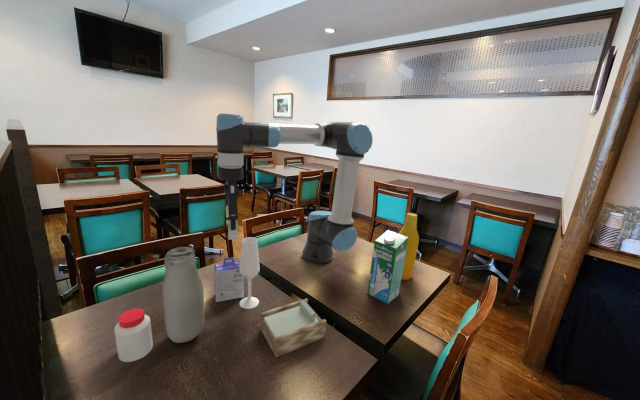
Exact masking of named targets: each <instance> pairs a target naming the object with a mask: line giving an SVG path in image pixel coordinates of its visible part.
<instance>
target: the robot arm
mask: <svg viewBox="0 0 640 400" xmlns="http://www.w3.org/2000/svg"><path fill="white" fill-rule="evenodd" d="M215 131H216V145H217V148H216V149H217V152H216V153H217V154H216V155H215V159H217V165H218V167H217V178H218V180H220V181H225V183H224V184H223V189H224V194H225V222H226V223H225V224H226V225H227V230H228V232H227V236H228V241H229V240H231V241H232V240H238V239H239V237H238V236H239V235H238V234H239V232H238V230H239V228H238V227H239V226H238V225H239V224H238V221H239V210H238V197H239V194H238V191H239V186H238V183H236V181H241V180H244V168H243V166H244V165H245V164H244V162H245V161H244V160H245V159H244V148H267V149H269V148H271V149H273V148H277V147H278V146H279V145H314V146H316V147H324V148H330V149H331V150H332V149H333V150H335V156H336V157H337V158H338V163H337V170H336V177H335V179H336V180H335V185H334V186H335V187H334V192H333V199H332V200H333V201H332V207H331V211H328V210H315V211H311V212H310V213H309V214H308V219H307V231H306V232H307V235H306V242H305V245H304V248H303V250H302V252H301V253H302V254H301V257H302V258H303V259H304V260H305V261H307V262H309V263H313V264H326V263H329V262H331V261H332V260H333V258H334V253H333V250H335V251H338V252H342V253H344V252H346V251H349V250H350V249H351V248H352V247H353V246H354V245H355V243H356V242H357V240H358V231H357V229H356V228H354V223H355V220H354V218H353V217H352V215H353V207H354V201H355V200H354V199H355V193H356V187H357V181H358V174H359V173H358V172H359V167H360V162H361V161H362V160H364V158H365V154H367V153H368V152H369V151H370V149H371V148H372V145H373V134H372V131H371V130H370V128H369V126H368V125H366V124H364V123H362V122H355V121H354V122H351V121H350V122H348V121H346V122H344V121H336V122H334V121H332V122H324V123H323V122H322V123H321V122H318V123H314V124H313V125H311V124H309V125H308V124H291V123H290V124H289V123H270V122H268V123H267V122H250V121H249V122H247V121H244V117H243V115H241V114H235V113H234V114H233V113H219V114H217V115H216V128H215Z"/></svg>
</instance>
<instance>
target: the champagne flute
mask: <svg viewBox="0 0 640 400" xmlns="http://www.w3.org/2000/svg"><path fill="white" fill-rule="evenodd" d="M258 243H259V242H258V239H257V238H256V237H251V236H250V237H249V236H248V237H244V238H243V239H242V242H241V251H240V260H239V261H240V269H239V271H240V274H241V275H242V276H243V277H244V279H246V280H247V297H243V298H242V299H241V300H240V301H239V306H240V307H241V308H243V309H246V310H249V309H254V308H256V307H257V306H258V305H259V303H260V300H259V299H258V298H257V297H254V296H252V280H253V279H254V278H255V277H256V276H257V275H258V274H259V272H260V271H261V270H260V269H261V268H260V256H259V246H258Z"/></svg>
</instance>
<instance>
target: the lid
mask: <svg viewBox="0 0 640 400" xmlns="http://www.w3.org/2000/svg"><path fill="white" fill-rule="evenodd" d="M302 300H303V299H302ZM299 301H300V300H299ZM311 308H312V307H311V306H310V305H309V304H307V303H306V302H305V300H303V301H300V305H299V306H296V307H293V308H290V309H287V310H284V311H281V312H278V313H275V314H272V315H269V316H266V317H264V322H265V324H266V325H267V327H268V329H269V331H270V332H271V334H272V336H273V338H274V339H275V341H276V337H279V336H282V335H284V334H287V333H289V332H292V331H295V330H297V329H300V328H303V327H305V326H308V325H310V324H313V323H316V322H318V320H317V318H316V317H315V314H317V313H316V311H315V310H314V309H313V308H312V309H313V310H314V311H313V310H312V309H311Z"/></svg>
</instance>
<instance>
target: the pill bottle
mask: <svg viewBox="0 0 640 400" xmlns="http://www.w3.org/2000/svg"><path fill="white" fill-rule="evenodd" d="M113 331H114V332H113V333H114V339H115V345H116V351H117V357H118V359H119V360H120V361H121V362H124V363H131V362H135V361H138V360H141V359H143V358H144V357H145V356H147V355H148V354H149V353H150V352H151V350H152V349H153V347H154V343H153V332H152V322H151V318H150V316H149V315H147V314H145V311H144V309H142V308H131V309H129V310H126V311H124V312H123V313H121V314H120V315H119V317H118V322H117V323H116V325H115V326H114V329H113Z"/></svg>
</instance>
